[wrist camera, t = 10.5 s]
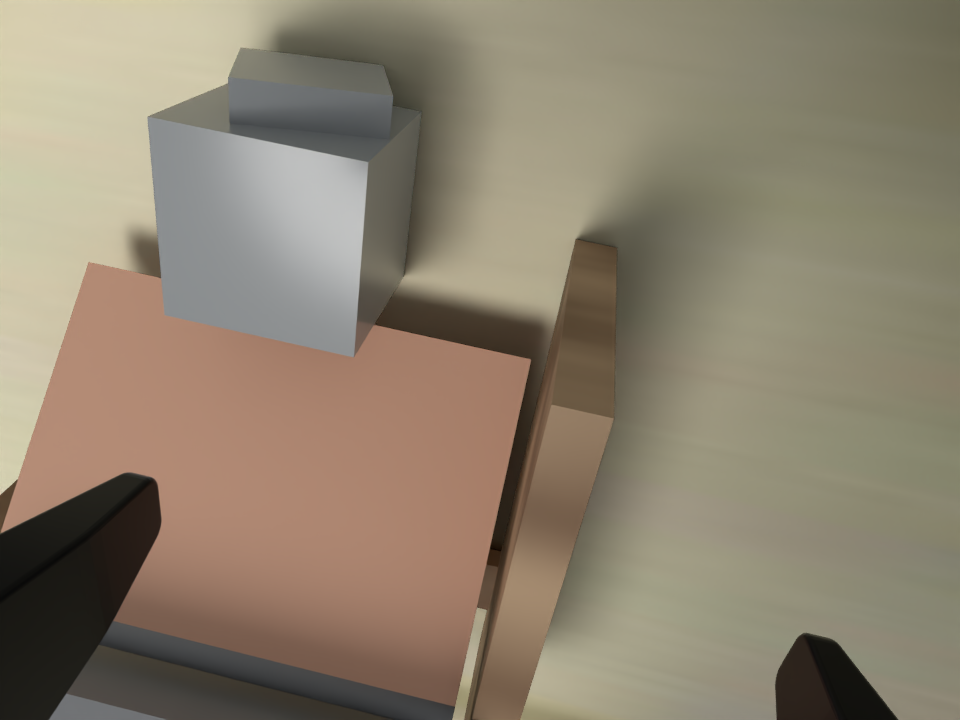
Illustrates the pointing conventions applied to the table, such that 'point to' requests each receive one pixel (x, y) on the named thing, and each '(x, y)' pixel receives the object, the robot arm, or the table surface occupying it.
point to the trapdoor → (278, 510)
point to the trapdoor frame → (544, 487)
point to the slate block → (285, 199)
